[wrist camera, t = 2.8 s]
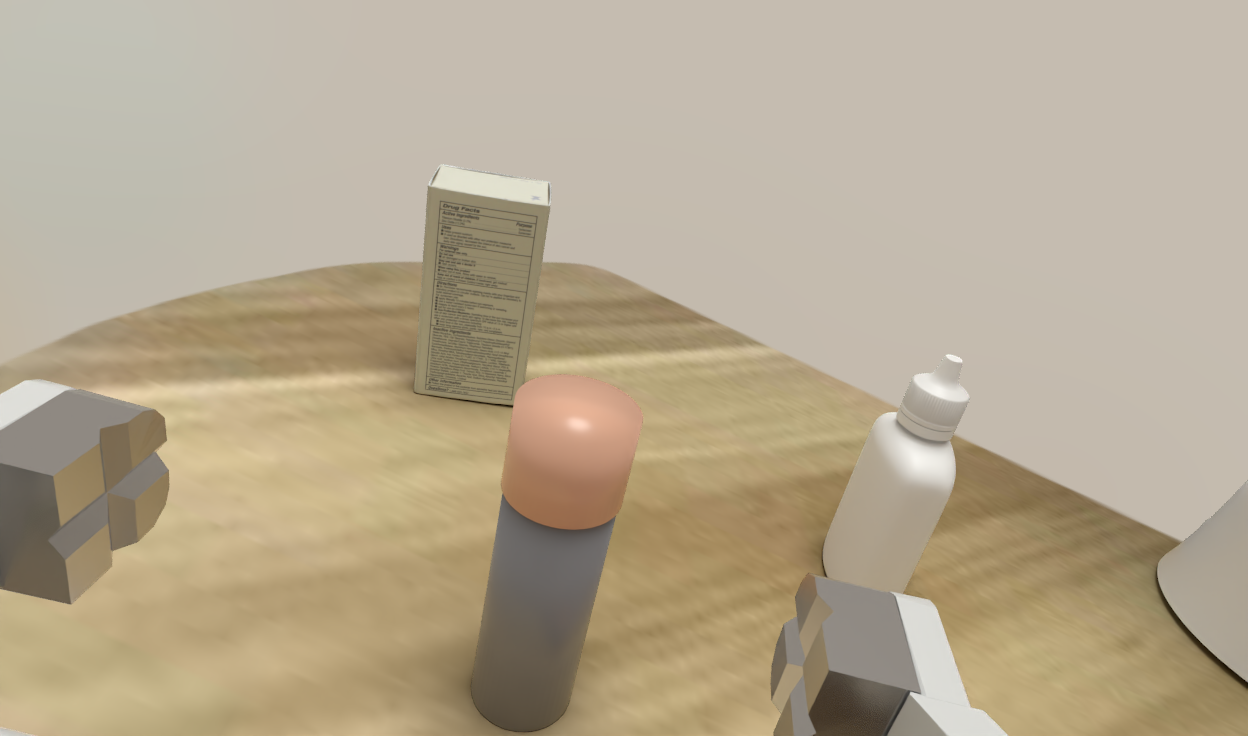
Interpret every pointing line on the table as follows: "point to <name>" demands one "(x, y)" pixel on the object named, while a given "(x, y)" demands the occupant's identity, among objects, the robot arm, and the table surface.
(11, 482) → the robot arm
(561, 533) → the terracotta marker
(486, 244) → the skincare box
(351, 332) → the table surface
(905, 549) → the eye dropper bottle
